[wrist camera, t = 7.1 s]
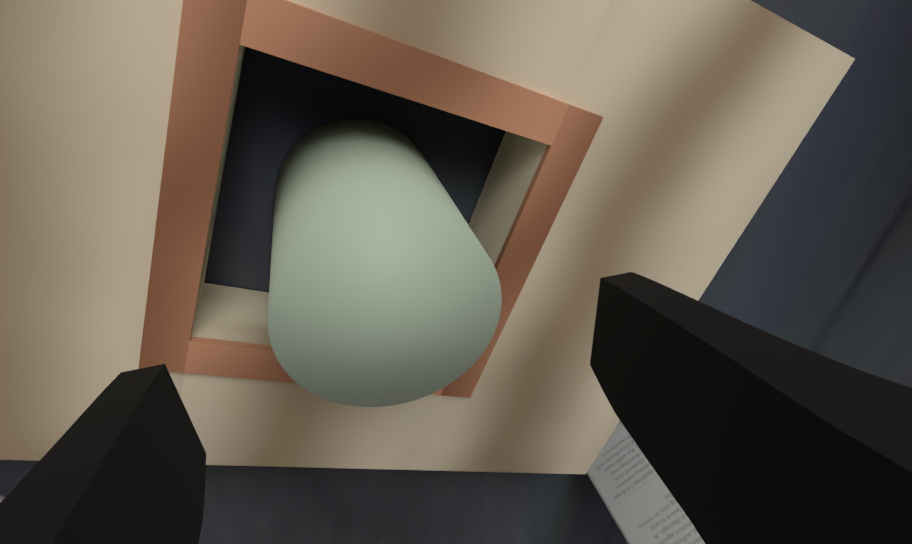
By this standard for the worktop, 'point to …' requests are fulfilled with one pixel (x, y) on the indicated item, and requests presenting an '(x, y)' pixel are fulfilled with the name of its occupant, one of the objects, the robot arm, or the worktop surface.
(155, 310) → the hole plate
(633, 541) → the skincare box
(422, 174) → the green peg
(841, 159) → the worktop surface
